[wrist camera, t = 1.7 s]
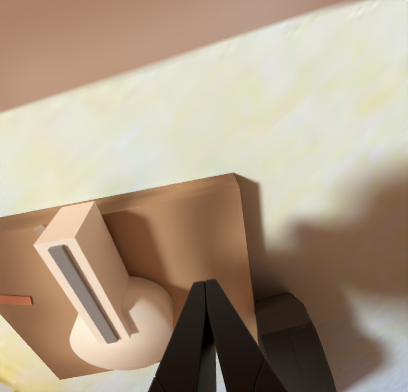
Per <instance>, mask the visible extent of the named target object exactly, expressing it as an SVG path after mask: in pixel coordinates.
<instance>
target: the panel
mask: <svg viewBox="0 0 408 392" xmlns="http://www.w3.org/2000/svg"><path fill="white" fill-rule="evenodd" d="M92 201H95V202H96V205H97V207H98V209H99V211H100V213H101V216H102V218H103V220H104V222H105V224H106V227H107V229H108V231H109V233H110V235H111V237H112V240H113V242H114V244H115V246H116V248H117V251H118V253H119V255H120V257H121V259H122V262H123V264H124V266H125V268H126V270H127V272H128V275H129V276H134V277H141V278H145V279H148V280H151V281H153V282H155V283H157V284H159V285H160V286H162V287H163V288H164V289H165V290H166V291H167V292H168V293H169V294H170V296H171V298H172V300H173V304H174V313H173V330H174V328H175V326H176V323H177V321H178V318H179V316H180V313H181V311H182V309H183V306H184V304H185V301H186V299H187V297H188V294H189V292H190V289H191V287H192V285H193V283H194V282H197V281H206V280H208V279H214V278H215V279H217V281H218V282H219V284H220V285H221V287H222V289H223V290H224V292H225V293H226V295H227V296H228V298H229V300H230V301H231V303H232V304H233V306H234V308H235V309H236V311H237V312H238V314H239V315H240V317H241V319H242V320H243V322H244V323H245V325H246V327H247V328H248V330H249V331H250V333H251V334H252V336H253V338H254V339H255V341H256V342H257V344H258V338H257V325H256V316H255V312H254V310H255V308H254V300H253V292H252V284H251V276H250V268H249V259H248V251H247V243H246V235H245V227H244V219H243V211H242V202H241V194H240V188H239V185H238V183H237V180H236V178H235V175H234V173H229V174H224V175H219V176H214V177H209V178H203V179H198V180H193V181H188V182H183V183H177V184H172V185H167V186H162V187H157V188H152V189H146V190H141V191H136V192H131V193H126V194H120V195H115V196H110V197H105V198H100V199H94V200H89V201H84V202H79V203H74V204H68V205H63V206H58V207H53V208H48V209H42V210H37V211H32V212H27V213H22V214H16V215H11V216H6V217H1V218H0V314H1V315H2V316H3V318H4V319H5V320H6V321H7V322H8V323H9V324H10V325H11V326H12V328H13V329H14V330H15V331H16V332H17V333H18V334H19V335H20V336H21V337H22V339H23V340H24V341H25V342H26V343H27V344H28V345H29V346H30V347H31V348H32V350H33V351H34V352H35V353H36V354H37V355H38V356H39V357H40V358H41V360H42V361H43V362H44V363H45V364H46V365H47V366H48V367H49V368H50V369H51V371H52V372H53V373H54V374H55V375H56V376H57V377H58V378H59V379H60V380H61V379H67V378H72V377H78V376H84V375H90V374H95V373H101V372H107V371H112V370H111V369H105V368H101V367H97V366H94V365H92V364H90V363H88V362H86V361H84V360H83V359H81V358H80V357H79V356H77V355H76V353H75V352H74V351H73V349H72V348H71V345H70V334H71V331H72V329H73V326H74V324H75V321H76V319H77V316H78V312H77V310H76V309H75V307H74V306H73V304H72V303H71V301H70V300H69V298H68V297H67V295H66V294H65V292H64V291H63V289H62V288H61V286H60V285H59V283H58V282H57V280H56V279H55V277H54V276H53V274H52V273H51V271H50V270H49V268H48V267H47V265H46V264H45V262H44V261H43V259H42V258H41V256H40V255H39V253H38V252H37V250H36V249H35V247H34V246H33V245H34V244H35V242H36V241H37V239H38V238H39V237H40V235H41V234H42V233H43V231H44V230H45V229H46V227H47V226H48V225H49V223H50V222H51V221H52V219H53V218H54V217H55V215H56V214H57V213H58V211H59V210H60V209H61V207H66V206H71V205H76V204H82V203H87V202H92ZM215 351H216V347H215ZM216 352H217V351H216ZM159 362H161V360H160V361H159ZM157 363H158V362H157Z"/></svg>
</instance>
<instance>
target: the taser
mask: <svg viewBox="0 0 408 392" xmlns="http://www.w3.org/2000/svg"><path fill="white" fill-rule="evenodd" d="M254 308H255V310H254V312H255V316H256V324H257V338H258V345H259V347H260V349H261V350H262V352H263V353H264V355H265V357H266V358H267V359H268V361H269V363H270V364H271V366H272V367H273V369H274V370H275V372H276V373H277V375H278V376H279V378H280V379H281V381H282V382H283V384H284V385H285V387H286V388H287V389H288V391H289V392H336V388H335V385H334V381H333V377H332V374H331V371H330V368H329V365H328V362H327V360H326V357H325V354H324V351H323V348H322V345H321V342H320V340H319V337H318V334H317V332H316V330H315V327H314V325H313V323H312V321H311V320H310V318H309V315H308V313H307V311H306V309H305V307H304V305H303V304H302V303H301V302H300V301H299V300H298V299H297V298H296V297H295V296H293V295H292V294H291V293H290V292H289V293H286V294H282V295H278V296H274V297H271V298H267V299H263V300H259V301H256V302H254Z"/></svg>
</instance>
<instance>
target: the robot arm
mask: <svg viewBox="0 0 408 392" xmlns="http://www.w3.org/2000/svg"><path fill="white" fill-rule="evenodd" d="M215 347H216V351H217V355H218V359H219V363H220V367H221V371H222V375H223V379H224V383H225V387H226V391H227V392H289V391H288V389H287V388H286V387H285V385H284V384H283V382H282V381H281V379H280V378H279V376H278V375H277V373H276V372H275V370H274V369H273V367H272V366H271V364H270V363H269V361H268V359H267V358H266V357H265V355H264V353H263V352H262V350H261V349H260V347H259V345H258V344H257V342H256V341H255V339H254V338H253V336H252V334H251V333H250V331H249V330H248V328H247V327H246V325H245V323H244V322H243V320H242V319H241V317H240V315H239V314H238V312H237V311H236V309H235V308H234V306H233V304H232V303H231V301H230V300H229V298H228V296H227V295H226V293H225V292H224V290H223V289H222V287H221V285H220V284H219V282H218V281H217V279H215V278H214V279H208V280H206V281H197V282H194V283H193V285H192V287H191V289H190V292H189V294H188V297H187V299H186V301H185V304H184V306H183V309H182V311H181V313H180V316H179V318H178V321H177V323H176V326H175V328H174V330H173V333H172V335H171V338H170V340H169V342H168V345H167V347H166V350H165V352H164V355H163V357H162V359H161V362H160V364H159V367H158V369H157V371H156V374H155V376H156V377H154V378H153V381H152V383H151V386H150V388H149V391H148V392H216V351H215Z"/></svg>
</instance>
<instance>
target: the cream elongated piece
mask: <svg viewBox="0 0 408 392" xmlns="http://www.w3.org/2000/svg"><path fill="white" fill-rule="evenodd" d="M33 246H34V247H35V249H36V250H37V252H38V253H39V255H40V256H41V258H42V259H43V261H44V262H45V264H46V265H47V267H48V268H49V270H50V271H51V273H52V274H53V276H54V277H55V279H56V280H57V282H58V283H59V285H60V286H61V288H62V289H63V291H64V292H65V294H66V295H67V297H68V298H69V300H70V301H71V303H72V304H73V306H74V307H75V309H76V310H77V312H78V316H77V319H76V321H75V324H74V326H73V329H72V331H71V334H70V345H71V348H72V349H73V351H74V352H75V353H76V355H77V356H79V357H80V358H81V359H83V360H84V361H86V362H88V363H90V364H92V365H94V366H97V367H101V368H105V369H111V370H134V369H140V368H144V367H148V366H150V365H153V364H155V363H157V362H159V361H160V360H161V359H162V357H163V355H164V352H165V350H166V347H167V345H168V342H169V340H170V338H171V335H172V333H173V313H174V304H173V300H172V298H171V296H170V294H169V293H168V292H167V291H166V290H165V289H164V288H163V287H162V286H160V285H159V284H157V283H155V282H153V281H151V280H148V279H145V278H141V277H134V276H129V275H128V272H127V270H126V268H125V266H124V264H123V262H122V259H121V257H120V255H119V253H118V251H117V248H116V246H115V244H114V242H113V240H112V237H111V235H110V233H109V231H108V229H107V227H106V224H105V222H104V220H103V218H102V216H101V213H100V211H99V209H98V207H97V205H96V202H95V201H92V202H87V203H82V204H76V205H71V206H66V207H61V209H60V210H59V211H58V213H57V214H56V215H55V217H54V218H53V219H52V221H51V222H50V223H49V225H48V226H47V227H46V229H45V230H44V231H43V233H42V234H41V235H40V237H39V238H38V239H37V241H36V242H35V244H34V245H33Z"/></svg>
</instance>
